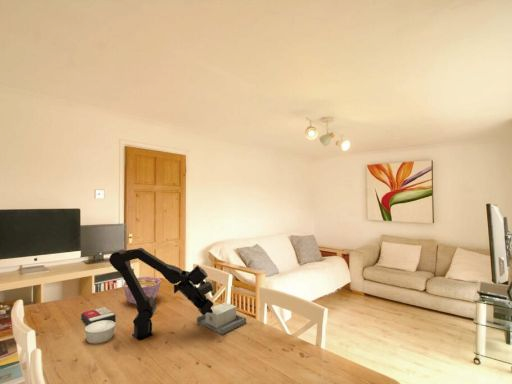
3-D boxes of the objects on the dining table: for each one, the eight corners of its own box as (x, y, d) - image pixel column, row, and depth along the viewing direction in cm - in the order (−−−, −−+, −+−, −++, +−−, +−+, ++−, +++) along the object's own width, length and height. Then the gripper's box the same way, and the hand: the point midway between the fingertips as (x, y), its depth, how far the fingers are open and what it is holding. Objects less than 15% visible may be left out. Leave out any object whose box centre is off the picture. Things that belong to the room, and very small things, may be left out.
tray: (222, 335, 122) (222, 329, 122) (196, 322, 134) (196, 317, 134) (245, 323, 133) (246, 318, 133) (220, 312, 145) (220, 307, 145)
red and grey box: (105, 306, 143) (115, 313, 133) (105, 314, 143) (115, 322, 133) (81, 311, 136) (89, 320, 125) (81, 321, 135) (89, 330, 125)
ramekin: (120, 336, 119) (120, 324, 119) (92, 348, 110) (93, 335, 110) (106, 329, 125) (106, 317, 126) (79, 339, 116) (80, 327, 116)
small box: (216, 328, 127) (236, 319, 136) (216, 314, 127) (236, 306, 137) (205, 323, 132) (225, 314, 142) (205, 309, 132) (225, 301, 142)
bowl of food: (114, 305, 152) (114, 284, 152) (141, 294, 171) (142, 275, 171) (141, 312, 144) (142, 289, 145) (168, 299, 163) (168, 279, 163)
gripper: (210, 282, 119) (232, 305, 124) (196, 271, 135) (216, 292, 140) (191, 304, 115) (214, 326, 120) (179, 290, 131) (200, 310, 136)
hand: (211, 312), depth 129 cm, fingers closed, pressing on small box
